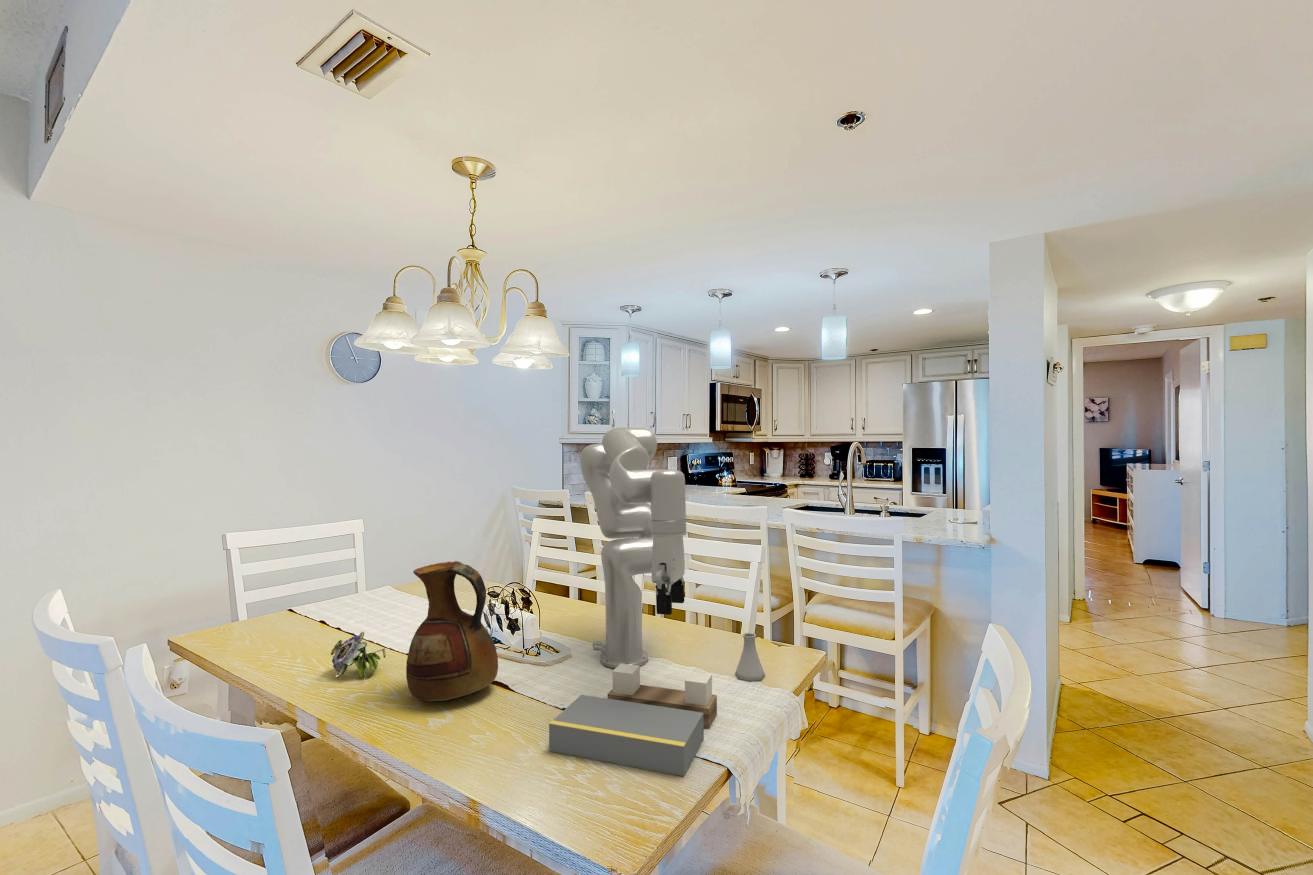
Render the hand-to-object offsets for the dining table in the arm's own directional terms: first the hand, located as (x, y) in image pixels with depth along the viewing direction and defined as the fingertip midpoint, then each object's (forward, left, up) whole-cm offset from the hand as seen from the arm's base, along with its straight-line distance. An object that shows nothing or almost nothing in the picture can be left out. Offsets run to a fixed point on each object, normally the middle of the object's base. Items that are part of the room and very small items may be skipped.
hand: (671, 608), depth 123 cm
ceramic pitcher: (-50, -8, -22) cm, 55 cm away
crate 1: (-9, -3, -17) cm, 20 cm away
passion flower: (-81, -6, -22) cm, 84 cm away
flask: (+13, +22, -22) cm, 33 cm away
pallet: (-1, -3, -21) cm, 22 cm away
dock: (-3, -17, -21) cm, 27 cm away
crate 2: (+7, -3, -17) cm, 19 cm away
